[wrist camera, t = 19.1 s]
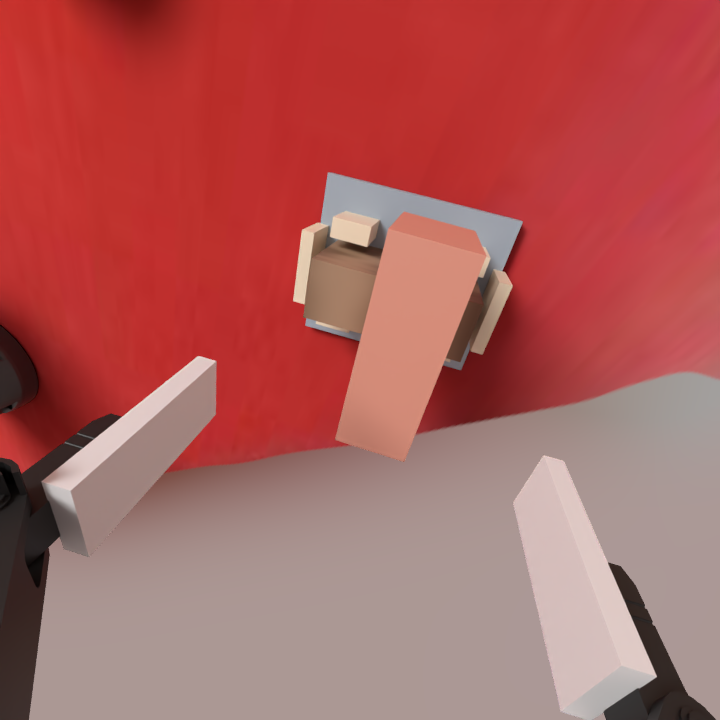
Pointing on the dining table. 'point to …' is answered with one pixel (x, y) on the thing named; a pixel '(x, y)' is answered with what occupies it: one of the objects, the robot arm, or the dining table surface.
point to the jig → (370, 226)
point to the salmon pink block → (408, 331)
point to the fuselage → (364, 292)
